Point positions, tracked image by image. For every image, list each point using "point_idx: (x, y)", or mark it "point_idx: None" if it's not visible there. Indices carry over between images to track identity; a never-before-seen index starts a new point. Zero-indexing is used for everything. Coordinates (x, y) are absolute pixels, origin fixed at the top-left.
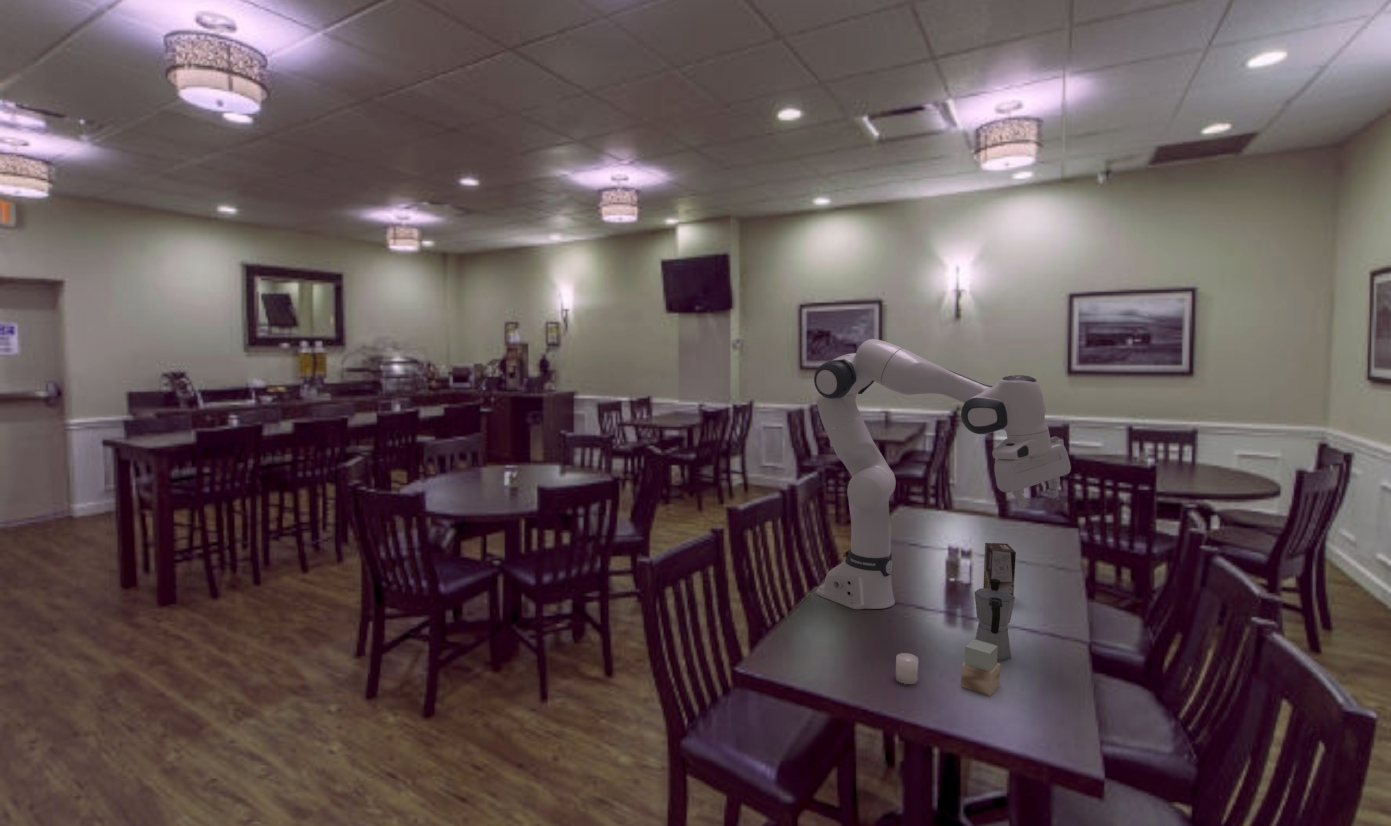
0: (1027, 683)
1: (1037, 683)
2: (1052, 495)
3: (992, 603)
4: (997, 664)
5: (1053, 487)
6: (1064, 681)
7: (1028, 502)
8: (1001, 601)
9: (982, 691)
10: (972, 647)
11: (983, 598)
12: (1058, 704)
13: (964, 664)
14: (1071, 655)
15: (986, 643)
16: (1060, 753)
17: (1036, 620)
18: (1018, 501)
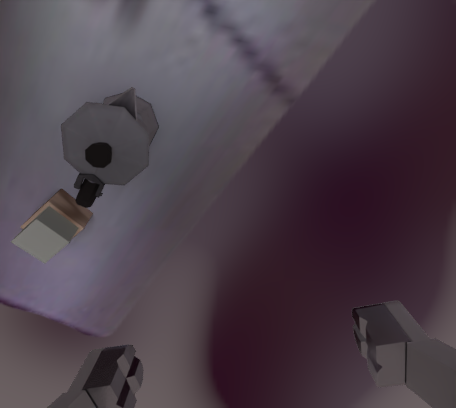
0: (134, 211)
1: (147, 212)
2: (359, 343)
3: (81, 187)
4: (78, 229)
5: (422, 381)
6: (185, 210)
7: (133, 397)
8: (98, 194)
9: None
10: (22, 245)
11: (70, 162)
12: (144, 253)
13: (24, 227)
14: (245, 147)
15: (53, 234)
16: (95, 319)
17: (288, 3)
18: (76, 382)
